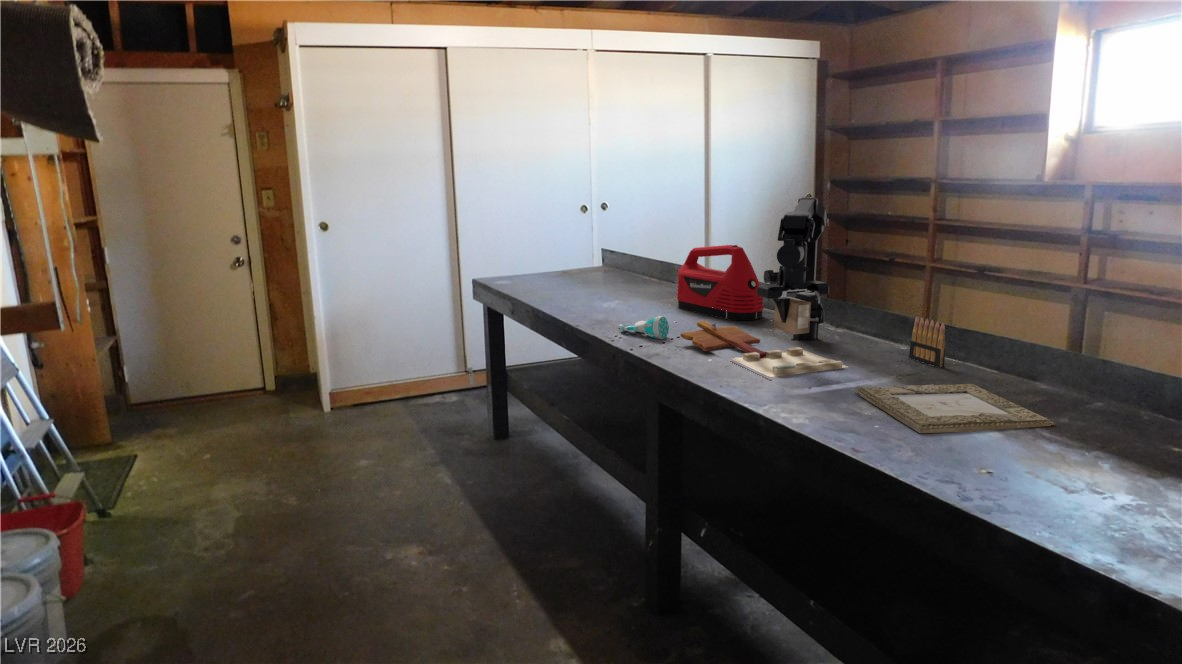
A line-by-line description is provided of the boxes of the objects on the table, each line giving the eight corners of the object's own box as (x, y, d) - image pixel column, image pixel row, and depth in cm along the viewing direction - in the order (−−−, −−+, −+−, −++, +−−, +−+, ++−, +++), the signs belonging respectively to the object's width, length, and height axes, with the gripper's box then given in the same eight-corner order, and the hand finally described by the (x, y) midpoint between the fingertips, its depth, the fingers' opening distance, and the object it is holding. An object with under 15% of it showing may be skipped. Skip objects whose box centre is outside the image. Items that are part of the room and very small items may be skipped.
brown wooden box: (788, 326, 197) (789, 296, 196) (809, 333, 189) (811, 302, 187) (774, 327, 196) (775, 298, 194) (795, 334, 187) (796, 303, 186)
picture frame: (1055, 429, 150) (1057, 417, 149) (919, 435, 146) (921, 423, 145) (971, 390, 176) (972, 380, 175) (853, 395, 171) (854, 384, 171)
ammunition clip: (908, 358, 201) (912, 315, 199) (913, 357, 202) (917, 315, 199) (938, 368, 192) (943, 323, 189) (944, 367, 192) (948, 322, 190)
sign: (789, 363, 205) (725, 330, 230) (791, 342, 203) (727, 311, 228) (732, 372, 197) (673, 337, 222) (734, 351, 195) (674, 318, 220)
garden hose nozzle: (618, 314, 246) (610, 320, 226) (670, 311, 243) (666, 316, 223) (620, 336, 246) (612, 343, 227) (672, 332, 243) (668, 339, 224)
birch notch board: (804, 353, 208) (804, 342, 207) (849, 370, 190) (849, 359, 189) (730, 362, 199) (730, 351, 199) (770, 381, 182) (770, 369, 181)
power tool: (697, 301, 288) (699, 237, 282) (773, 318, 255) (776, 246, 250) (666, 305, 280) (667, 239, 274) (740, 323, 247) (742, 249, 242)
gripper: (805, 257, 199) (802, 313, 203) (746, 261, 193) (744, 319, 196) (832, 262, 189) (828, 321, 192) (770, 266, 183) (768, 327, 186)
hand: (791, 321), depth 192 cm, fingers closed on brown wooden box, 4 cm apart
